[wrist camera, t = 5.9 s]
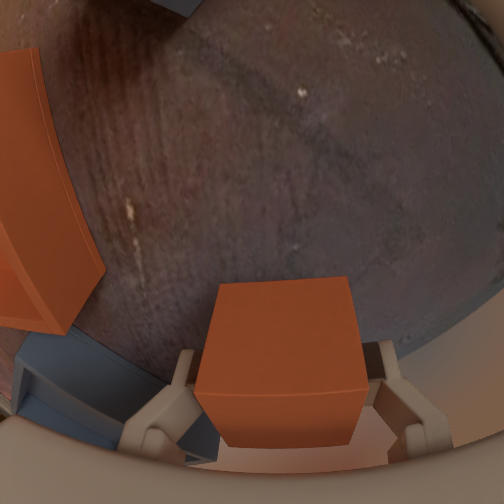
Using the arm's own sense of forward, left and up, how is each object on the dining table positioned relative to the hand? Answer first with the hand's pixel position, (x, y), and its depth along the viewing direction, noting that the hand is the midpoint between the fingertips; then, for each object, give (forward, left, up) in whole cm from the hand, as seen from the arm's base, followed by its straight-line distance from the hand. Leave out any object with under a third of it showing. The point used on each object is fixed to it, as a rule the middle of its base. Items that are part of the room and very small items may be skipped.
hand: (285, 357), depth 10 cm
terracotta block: (0, 0, -2) cm, 2 cm away
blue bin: (+20, +15, -4) cm, 25 cm away
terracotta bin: (+15, -7, -4) cm, 17 cm away
